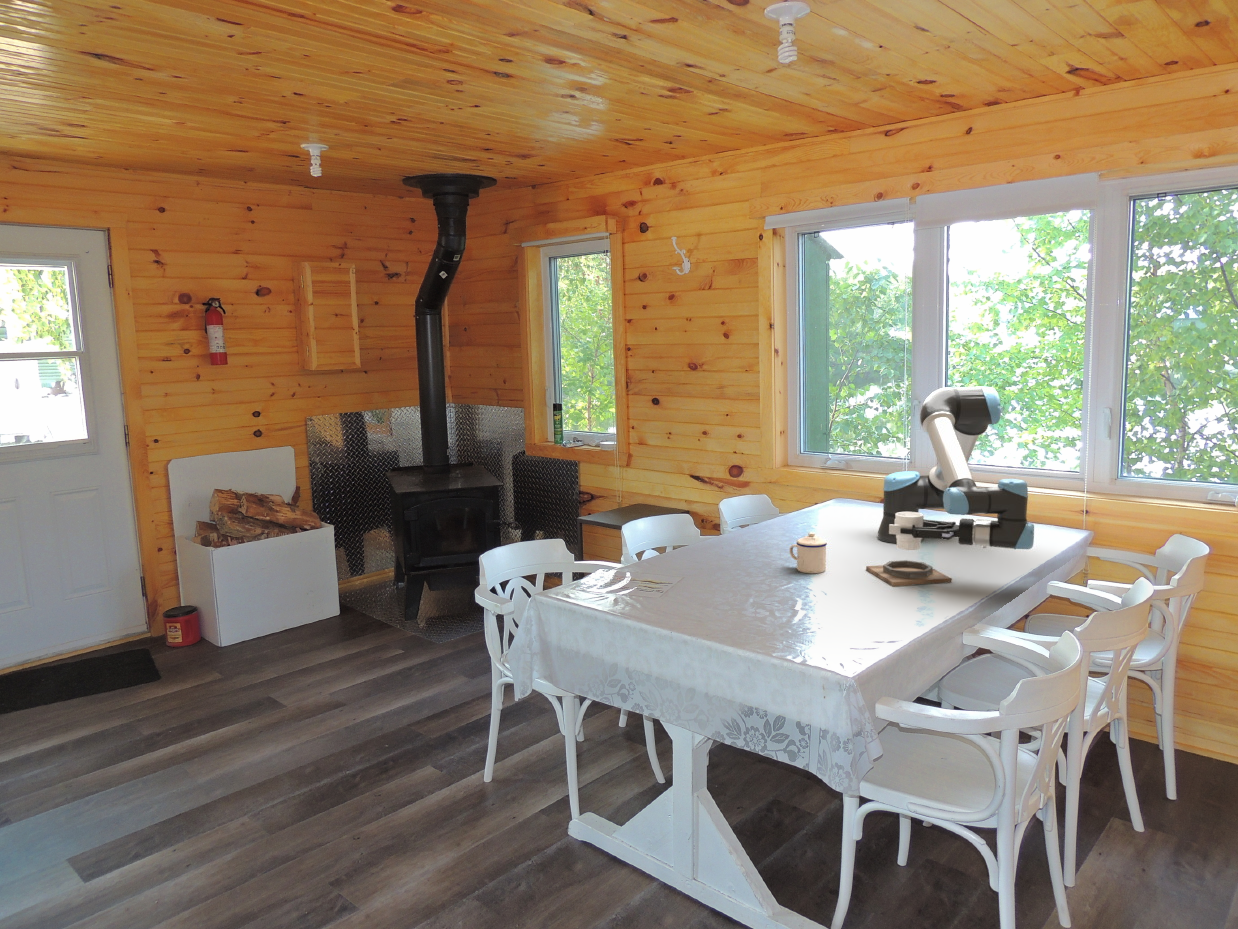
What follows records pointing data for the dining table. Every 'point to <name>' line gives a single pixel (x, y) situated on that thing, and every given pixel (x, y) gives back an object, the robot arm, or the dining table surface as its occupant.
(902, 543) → the white cup
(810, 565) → the teacup with lid
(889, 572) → the ring holder
